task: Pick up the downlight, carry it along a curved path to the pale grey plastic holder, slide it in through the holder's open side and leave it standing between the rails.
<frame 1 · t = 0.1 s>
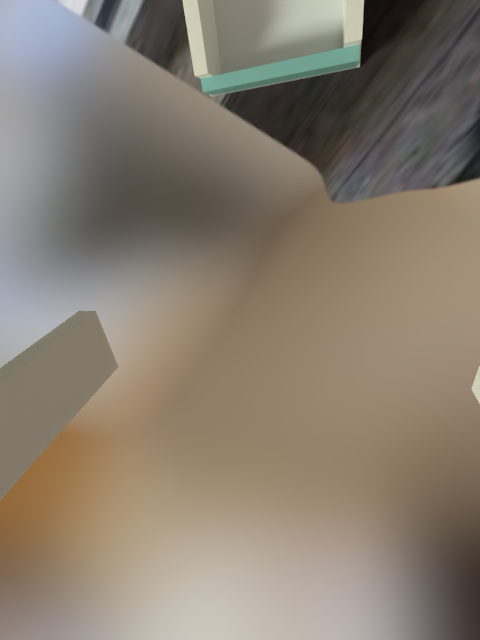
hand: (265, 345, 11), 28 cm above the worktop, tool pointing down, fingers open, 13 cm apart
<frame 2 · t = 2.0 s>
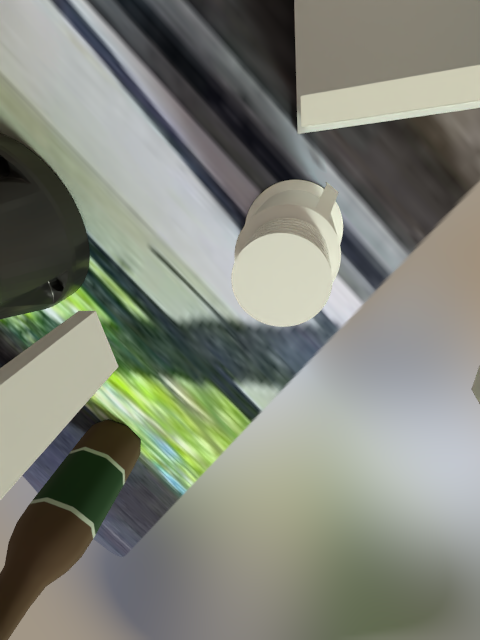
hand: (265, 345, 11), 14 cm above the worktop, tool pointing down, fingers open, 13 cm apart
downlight: (293, 229, 23), on the worktop
beer bottle: (119, 436, 43), on the worktop
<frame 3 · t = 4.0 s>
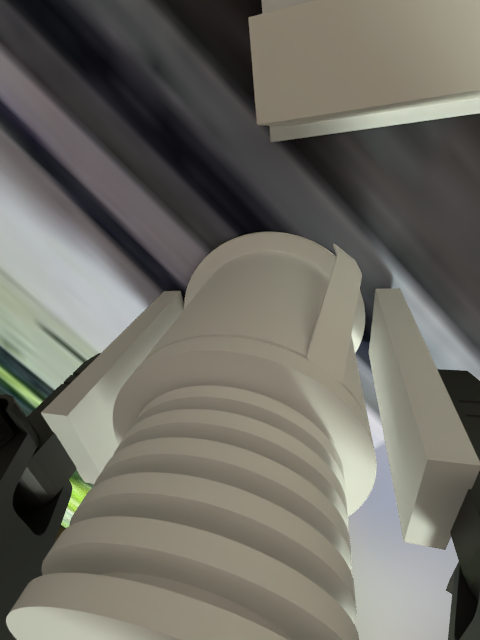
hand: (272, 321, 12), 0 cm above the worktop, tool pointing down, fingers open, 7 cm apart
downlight: (273, 314, 12), on the worktop, touching gripper
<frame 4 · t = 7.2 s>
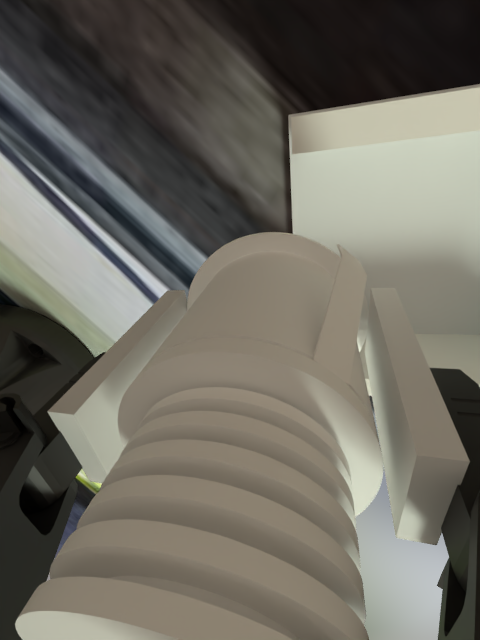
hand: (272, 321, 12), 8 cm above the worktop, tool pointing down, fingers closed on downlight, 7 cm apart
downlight: (276, 315, 12), point 8 cm above the worktop, touching gripper
holder: (412, 246, 17), on the worktop
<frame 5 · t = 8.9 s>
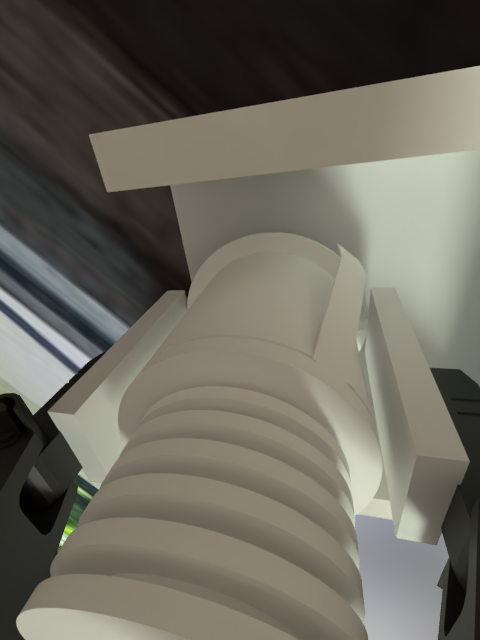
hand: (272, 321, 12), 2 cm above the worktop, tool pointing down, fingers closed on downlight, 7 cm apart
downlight: (275, 315, 12), point 1 cm above the worktop, touching gripper
holder: (346, 299, 13), on the worktop
when the fingers open (1 cm above the worktop, at t = 10.0 s): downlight stays where it is, resting on holder.
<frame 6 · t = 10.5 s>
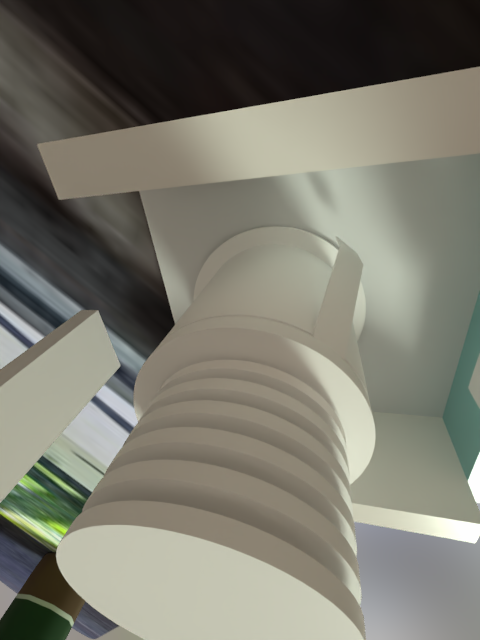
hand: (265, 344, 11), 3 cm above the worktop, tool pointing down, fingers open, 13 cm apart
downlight: (278, 306, 13), resting on holder
holder: (315, 303, 13), on the worktop
beer bottle: (72, 563, 41), on the worktop
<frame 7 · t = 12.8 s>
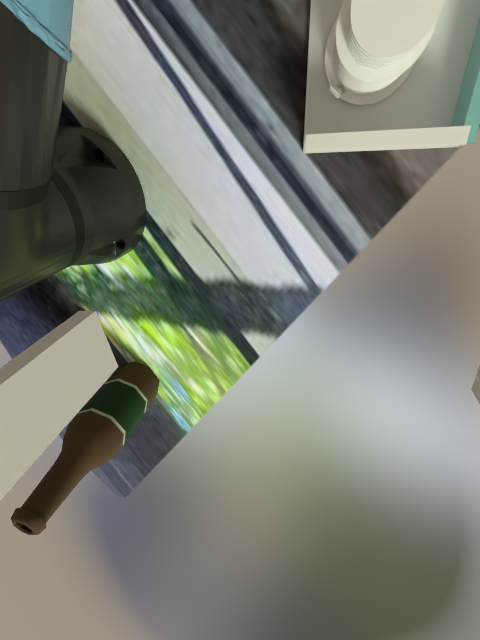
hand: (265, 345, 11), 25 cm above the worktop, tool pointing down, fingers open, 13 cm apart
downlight: (371, 50, 24), resting on holder
holder: (391, 49, 24), on the worktop
beer bottle: (141, 377, 52), on the worktop
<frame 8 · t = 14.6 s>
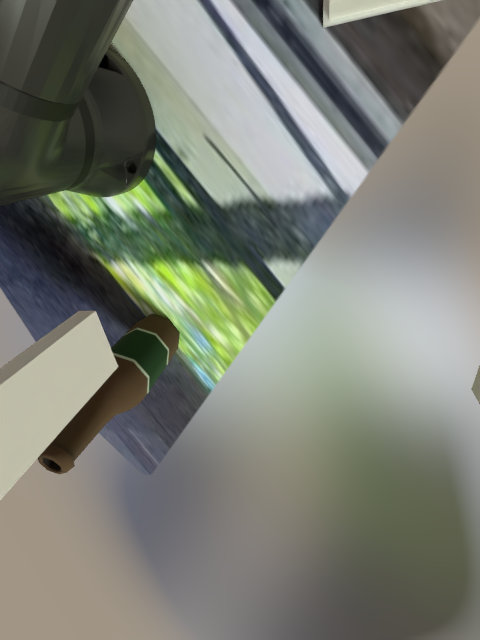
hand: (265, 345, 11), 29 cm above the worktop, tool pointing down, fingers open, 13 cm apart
beer bottle: (160, 332, 50), on the worktop
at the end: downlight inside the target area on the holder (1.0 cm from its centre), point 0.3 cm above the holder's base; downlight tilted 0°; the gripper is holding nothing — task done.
